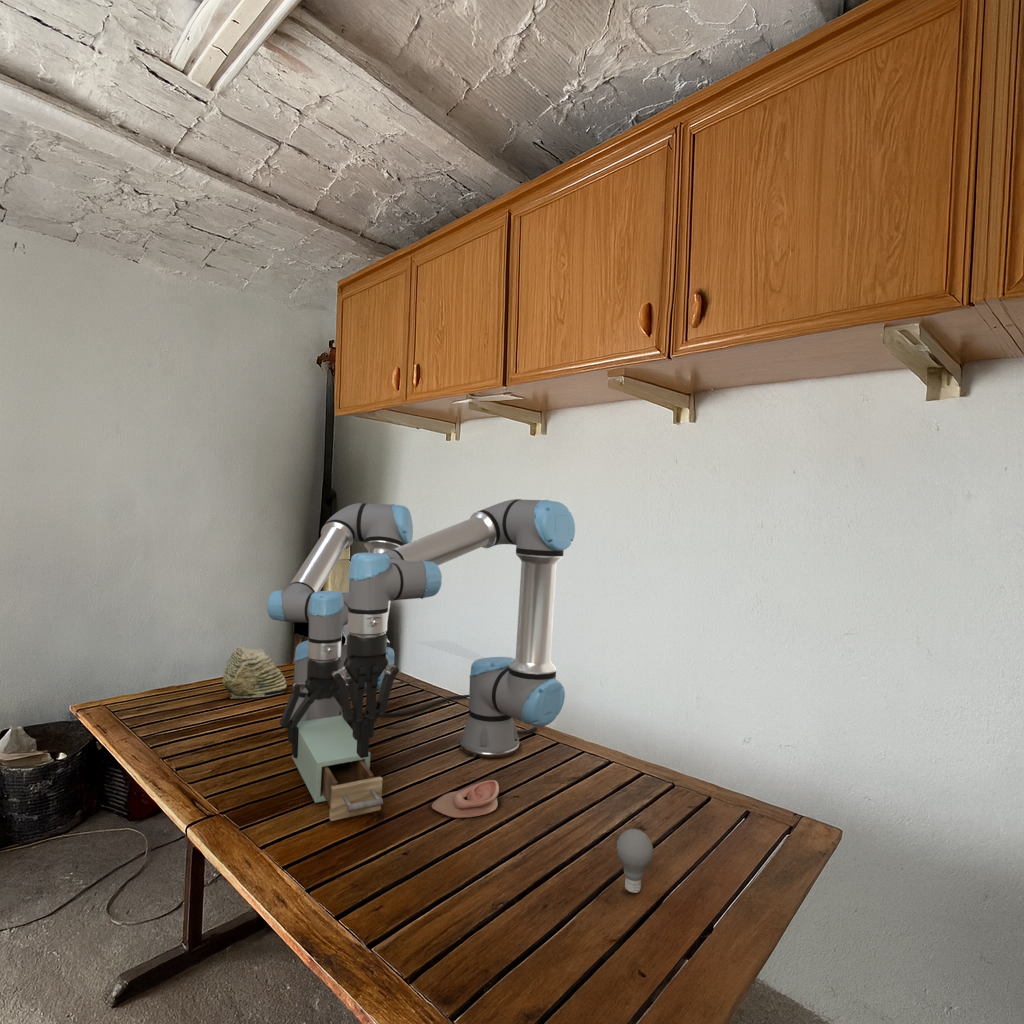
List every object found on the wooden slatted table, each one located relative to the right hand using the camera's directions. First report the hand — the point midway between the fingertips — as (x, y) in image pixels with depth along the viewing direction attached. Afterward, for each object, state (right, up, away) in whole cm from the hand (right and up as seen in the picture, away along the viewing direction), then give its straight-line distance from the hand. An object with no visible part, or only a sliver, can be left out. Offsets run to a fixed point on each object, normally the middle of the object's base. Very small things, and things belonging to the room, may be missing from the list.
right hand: (362, 754), depth 122 cm
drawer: (-6, -12, +9) cm, 16 cm away
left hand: (-16, -9, +26) cm, 31 cm away
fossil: (-52, -10, +76) cm, 92 cm away
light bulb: (+49, -17, -17) cm, 54 cm away
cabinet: (-12, -12, +20) cm, 26 cm away
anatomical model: (+19, -15, +10) cm, 26 cm away
